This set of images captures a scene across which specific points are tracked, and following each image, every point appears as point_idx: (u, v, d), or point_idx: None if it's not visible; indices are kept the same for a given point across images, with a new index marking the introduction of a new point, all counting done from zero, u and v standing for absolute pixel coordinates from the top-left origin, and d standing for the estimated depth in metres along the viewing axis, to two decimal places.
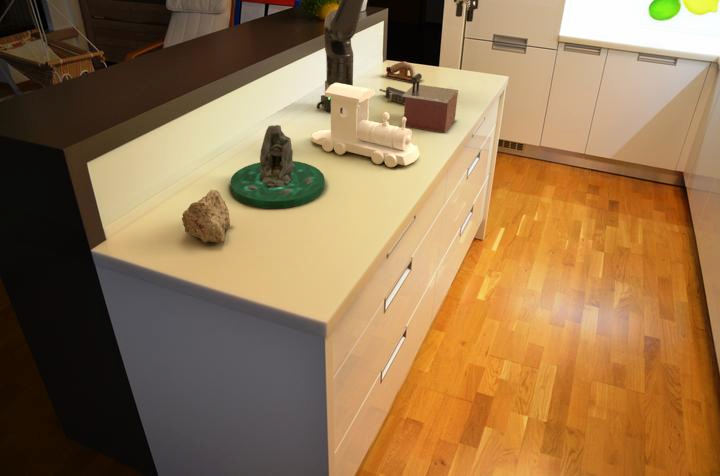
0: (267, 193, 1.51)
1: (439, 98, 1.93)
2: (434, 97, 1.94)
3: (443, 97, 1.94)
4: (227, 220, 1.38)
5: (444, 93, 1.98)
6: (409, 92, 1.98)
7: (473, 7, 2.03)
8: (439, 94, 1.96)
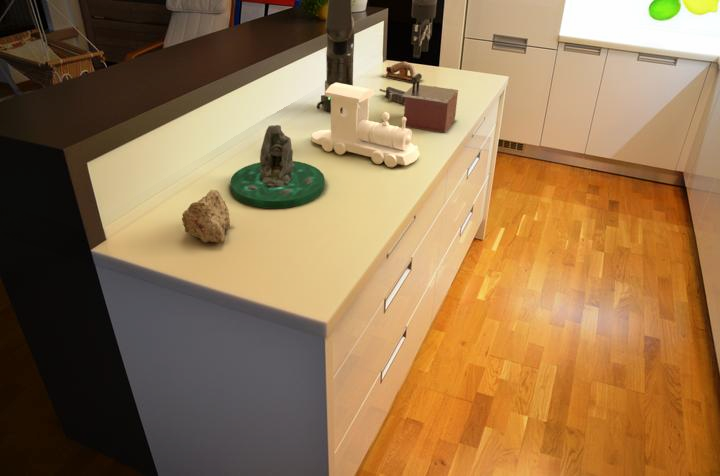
0: (267, 193, 1.51)
1: (439, 98, 1.93)
2: (434, 97, 1.94)
3: (443, 97, 1.94)
4: (227, 220, 1.38)
5: (444, 93, 1.98)
6: (409, 92, 1.98)
7: (413, 42, 1.88)
8: (439, 94, 1.96)
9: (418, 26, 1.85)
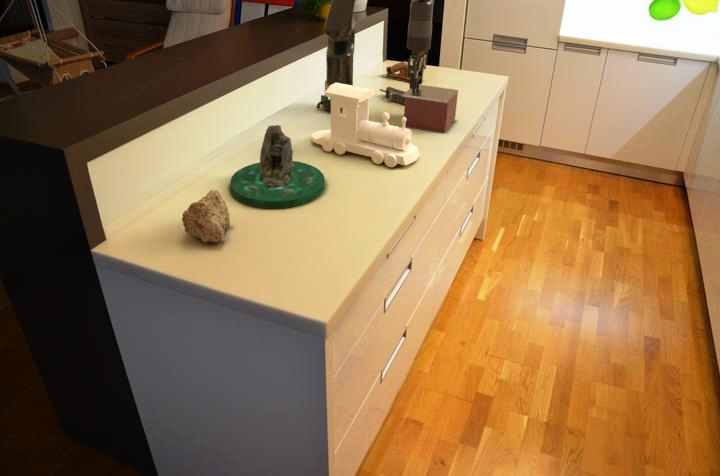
0: (267, 193, 1.51)
1: (439, 98, 1.93)
2: (434, 97, 1.94)
3: (443, 97, 1.94)
4: (227, 220, 1.38)
5: (444, 93, 1.98)
6: (409, 92, 1.98)
7: (410, 75, 1.93)
8: (439, 94, 1.96)
9: (413, 61, 1.89)
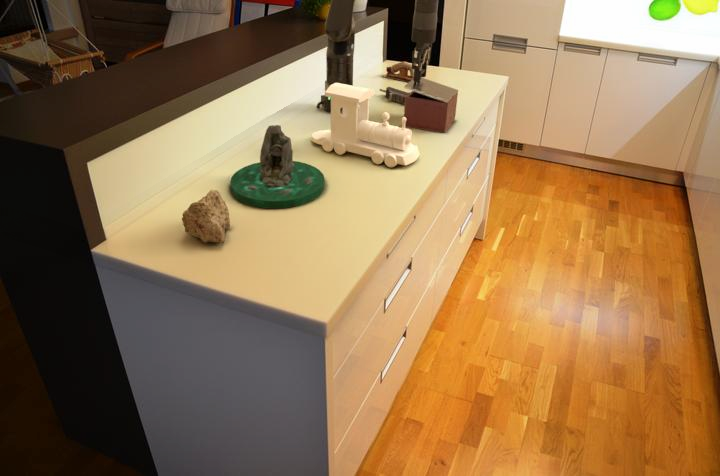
0: (267, 193, 1.51)
1: (439, 96, 1.93)
2: (435, 94, 1.93)
3: (444, 96, 1.93)
4: (227, 220, 1.38)
5: (445, 91, 1.97)
6: (410, 84, 1.96)
7: (414, 67, 1.91)
8: (440, 92, 1.96)
9: (417, 53, 1.87)
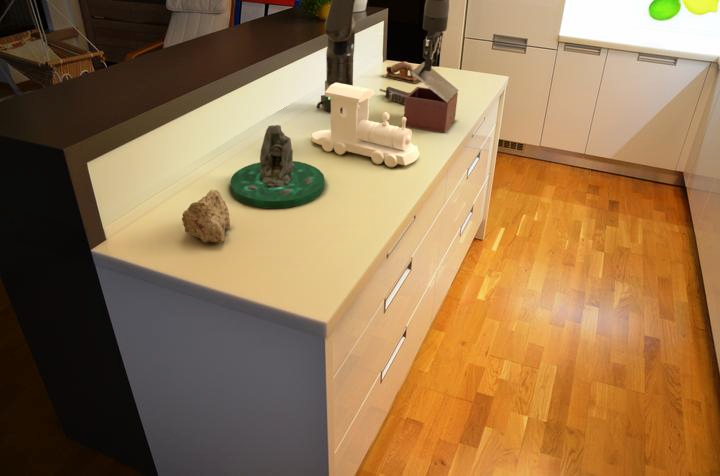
0: (267, 193, 1.51)
1: (441, 93, 1.92)
2: (438, 90, 1.92)
3: (445, 95, 1.93)
4: (227, 220, 1.38)
5: (446, 89, 1.97)
6: (417, 71, 1.93)
7: (425, 56, 1.88)
8: (442, 88, 1.95)
9: (429, 42, 1.84)
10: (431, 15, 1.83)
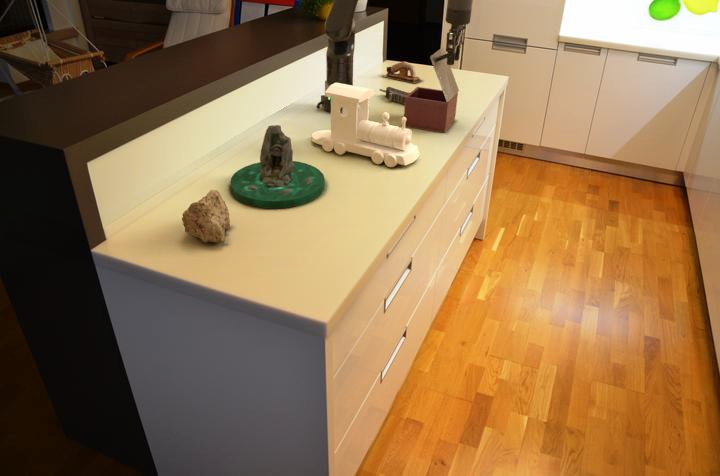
0: (267, 193, 1.51)
1: (446, 91, 1.91)
2: (445, 85, 1.91)
3: (448, 93, 1.92)
4: (227, 220, 1.38)
5: (451, 86, 1.96)
6: (436, 58, 1.89)
7: (448, 50, 1.84)
8: (448, 85, 1.94)
9: (452, 35, 1.81)
10: (455, 7, 1.80)
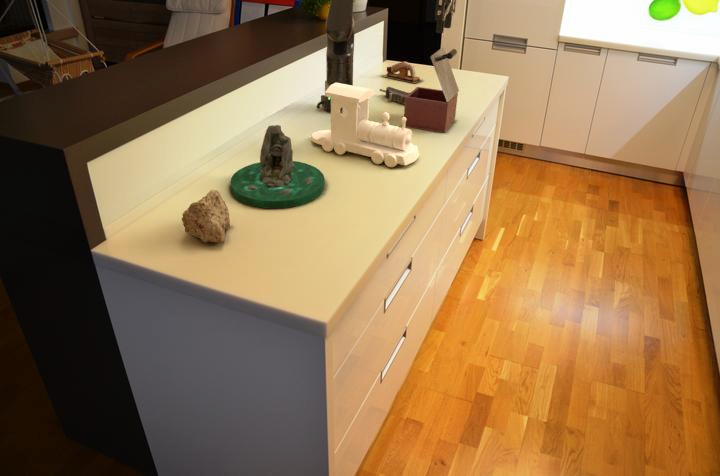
0: (267, 193, 1.51)
1: (446, 91, 1.91)
2: (445, 85, 1.91)
3: (448, 93, 1.92)
4: (227, 220, 1.38)
5: (451, 86, 1.96)
6: (436, 57, 1.89)
7: (437, 17, 1.82)
8: (448, 85, 1.93)
9: (442, 0, 1.79)
10: None
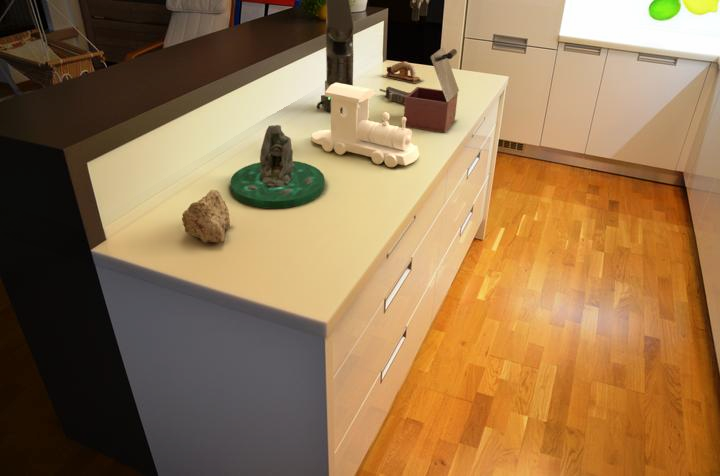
0: (267, 193, 1.51)
1: (446, 91, 1.91)
2: (445, 85, 1.91)
3: (448, 93, 1.92)
4: (227, 220, 1.38)
5: (451, 86, 1.96)
6: (436, 57, 1.89)
7: (412, 5, 1.88)
8: (448, 85, 1.93)
9: None
10: None
